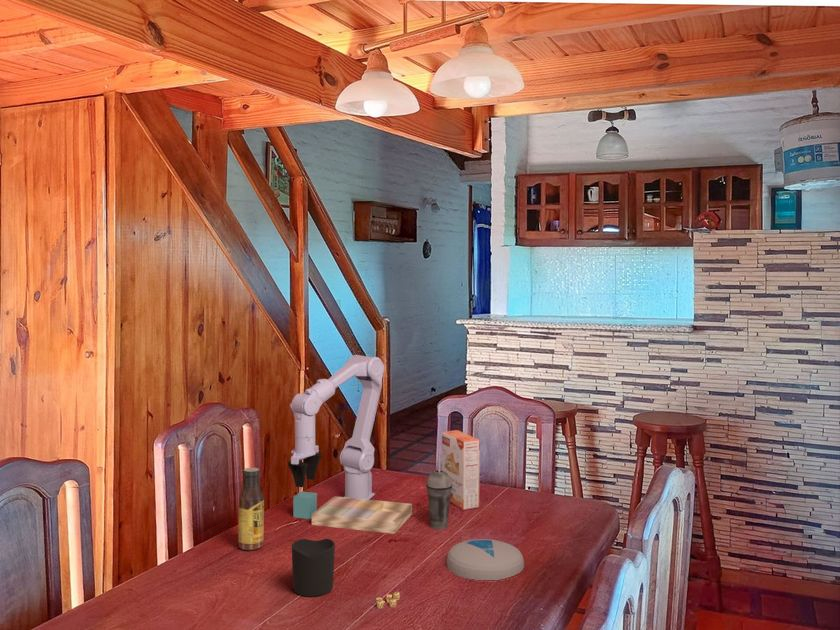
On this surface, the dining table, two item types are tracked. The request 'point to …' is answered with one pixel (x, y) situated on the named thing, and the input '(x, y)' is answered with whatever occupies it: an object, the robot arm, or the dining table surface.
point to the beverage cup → (439, 497)
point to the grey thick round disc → (485, 559)
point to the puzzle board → (366, 522)
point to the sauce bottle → (251, 512)
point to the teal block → (304, 505)
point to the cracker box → (462, 467)
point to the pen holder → (313, 566)
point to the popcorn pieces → (388, 600)
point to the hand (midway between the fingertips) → (305, 482)
